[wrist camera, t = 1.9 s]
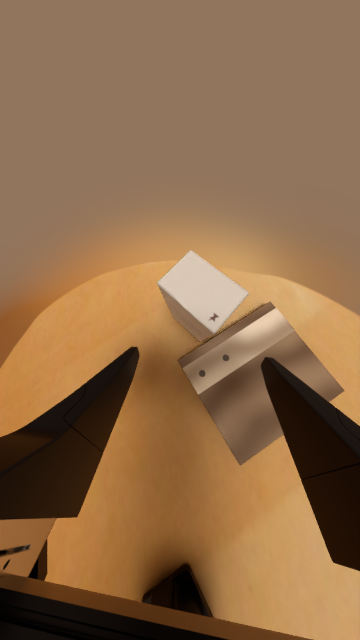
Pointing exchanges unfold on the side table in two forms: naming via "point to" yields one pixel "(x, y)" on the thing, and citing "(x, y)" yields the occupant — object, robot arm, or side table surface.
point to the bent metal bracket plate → (251, 378)
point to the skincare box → (200, 295)
